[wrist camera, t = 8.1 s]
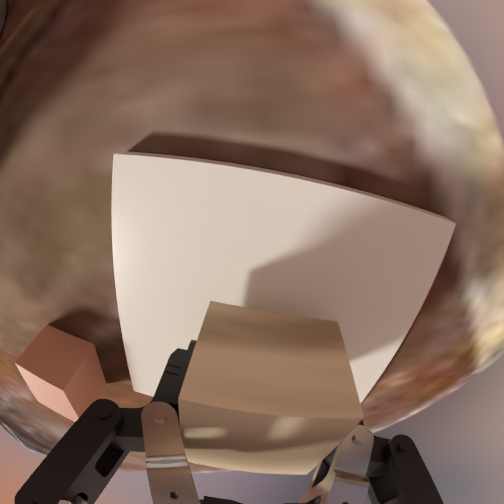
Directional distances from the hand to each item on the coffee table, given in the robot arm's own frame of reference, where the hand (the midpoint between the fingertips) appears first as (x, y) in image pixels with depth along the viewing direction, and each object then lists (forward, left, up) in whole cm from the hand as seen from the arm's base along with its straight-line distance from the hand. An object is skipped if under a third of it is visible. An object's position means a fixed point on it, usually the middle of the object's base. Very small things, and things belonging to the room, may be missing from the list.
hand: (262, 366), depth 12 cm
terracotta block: (+8, -14, -3) cm, 16 cm away
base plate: (0, 0, -3) cm, 3 cm away
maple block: (0, 0, -1) cm, 1 cm away
